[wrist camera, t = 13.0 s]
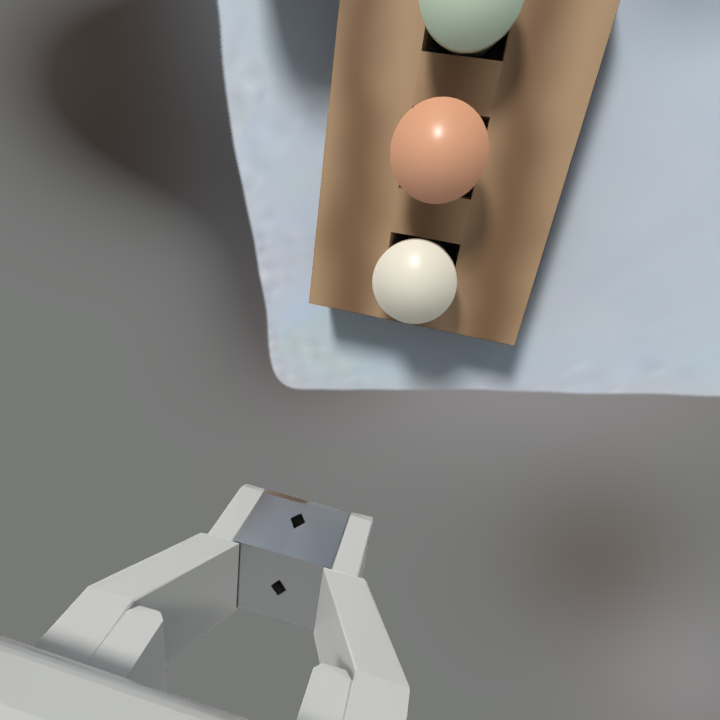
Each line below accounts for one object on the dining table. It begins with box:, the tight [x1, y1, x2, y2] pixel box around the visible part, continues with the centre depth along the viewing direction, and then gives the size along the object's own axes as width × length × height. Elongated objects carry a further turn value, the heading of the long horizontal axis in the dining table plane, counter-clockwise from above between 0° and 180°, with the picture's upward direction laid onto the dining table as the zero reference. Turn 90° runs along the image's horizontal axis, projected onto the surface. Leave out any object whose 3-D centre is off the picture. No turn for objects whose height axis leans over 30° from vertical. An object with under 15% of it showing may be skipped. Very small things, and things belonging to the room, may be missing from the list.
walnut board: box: [309, 0, 620, 345], centre depth 33 cm, size 16×24×5 cm, turn 172°
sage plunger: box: [419, 0, 524, 58], centre depth 27 cm, size 6×6×8 cm
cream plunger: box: [372, 237, 457, 324], centre depth 34 cm, size 6×6×8 cm
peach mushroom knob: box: [390, 97, 489, 204], centre depth 30 cm, size 6×6×8 cm
